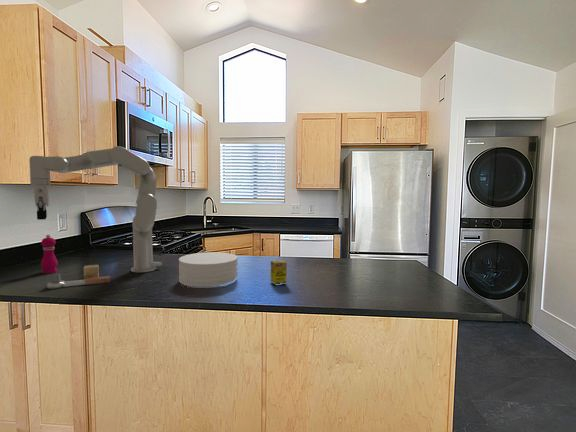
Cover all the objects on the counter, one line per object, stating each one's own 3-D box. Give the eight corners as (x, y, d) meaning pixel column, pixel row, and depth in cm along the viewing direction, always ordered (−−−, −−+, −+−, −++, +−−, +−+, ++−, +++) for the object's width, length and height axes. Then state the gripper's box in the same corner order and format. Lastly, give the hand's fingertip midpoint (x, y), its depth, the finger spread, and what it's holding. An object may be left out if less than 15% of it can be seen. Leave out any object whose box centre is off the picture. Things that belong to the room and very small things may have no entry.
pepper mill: (49, 274, 162) (47, 235, 161) (37, 273, 164) (35, 235, 162) (61, 270, 169) (60, 234, 168) (50, 270, 171) (48, 233, 169)
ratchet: (109, 279, 155) (109, 268, 155) (109, 282, 149) (109, 271, 149) (48, 285, 143) (48, 273, 143) (46, 289, 138) (45, 277, 137)
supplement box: (275, 286, 148) (275, 263, 147) (270, 283, 153) (270, 260, 152) (286, 284, 150) (287, 262, 149) (281, 281, 156) (281, 259, 155)
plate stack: (199, 293, 137) (199, 267, 136) (168, 280, 156) (168, 257, 155) (248, 280, 157) (249, 257, 156) (216, 270, 176) (216, 250, 175)
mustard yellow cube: (98, 276, 160) (98, 264, 160) (98, 279, 155) (97, 267, 155) (84, 277, 157) (84, 265, 157) (83, 280, 152) (83, 268, 152)
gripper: (49, 182, 144) (51, 219, 145) (51, 183, 158) (52, 217, 159) (28, 182, 140) (30, 220, 141) (31, 182, 154) (33, 217, 155)
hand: (42, 218), depth 150 cm, fingers open, 9 cm apart
